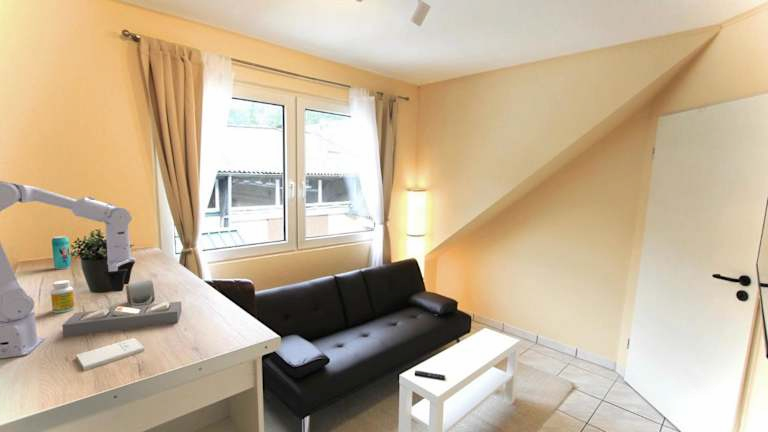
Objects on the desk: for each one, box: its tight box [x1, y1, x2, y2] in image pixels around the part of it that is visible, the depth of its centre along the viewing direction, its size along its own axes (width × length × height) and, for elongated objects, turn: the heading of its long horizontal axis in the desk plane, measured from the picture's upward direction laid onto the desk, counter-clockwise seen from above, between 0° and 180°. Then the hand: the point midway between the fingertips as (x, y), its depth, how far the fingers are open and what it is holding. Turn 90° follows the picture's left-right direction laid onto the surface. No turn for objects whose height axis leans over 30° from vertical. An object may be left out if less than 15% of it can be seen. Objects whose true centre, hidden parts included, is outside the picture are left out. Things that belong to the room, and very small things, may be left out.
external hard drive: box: [75, 337, 145, 371], centre depth 89 cm, size 2×8×12 cm
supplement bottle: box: [50, 279, 75, 314], centre depth 115 cm, size 5×5×10 cm
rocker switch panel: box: [61, 301, 183, 338], centre depth 107 cm, size 9×28×4 cm, turn 114°
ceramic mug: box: [125, 278, 156, 307], centre depth 123 cm, size 11×8×8 cm
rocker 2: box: [113, 305, 141, 316], centre depth 106 cm, size 4×6×2 cm, turn 114°
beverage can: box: [51, 235, 72, 270], centre depth 160 cm, size 6×6×15 cm
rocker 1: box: [81, 307, 109, 320], centre depth 103 cm, size 4×6×2 cm, turn 114°
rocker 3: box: [146, 300, 170, 312], centre depth 110 cm, size 4×6×2 cm, turn 114°
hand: (121, 287), depth 108 cm, fingers open, 6 cm apart
